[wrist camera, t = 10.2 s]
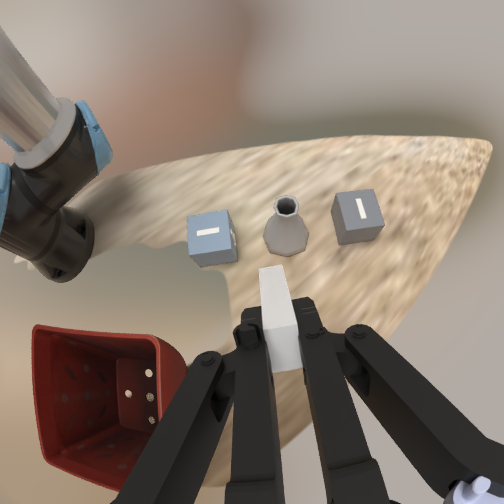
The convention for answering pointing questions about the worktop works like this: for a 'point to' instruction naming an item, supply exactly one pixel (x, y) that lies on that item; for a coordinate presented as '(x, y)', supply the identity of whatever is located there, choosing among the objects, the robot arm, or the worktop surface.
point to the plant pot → (100, 398)
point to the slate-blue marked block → (211, 238)
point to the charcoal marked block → (356, 216)
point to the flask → (286, 228)
